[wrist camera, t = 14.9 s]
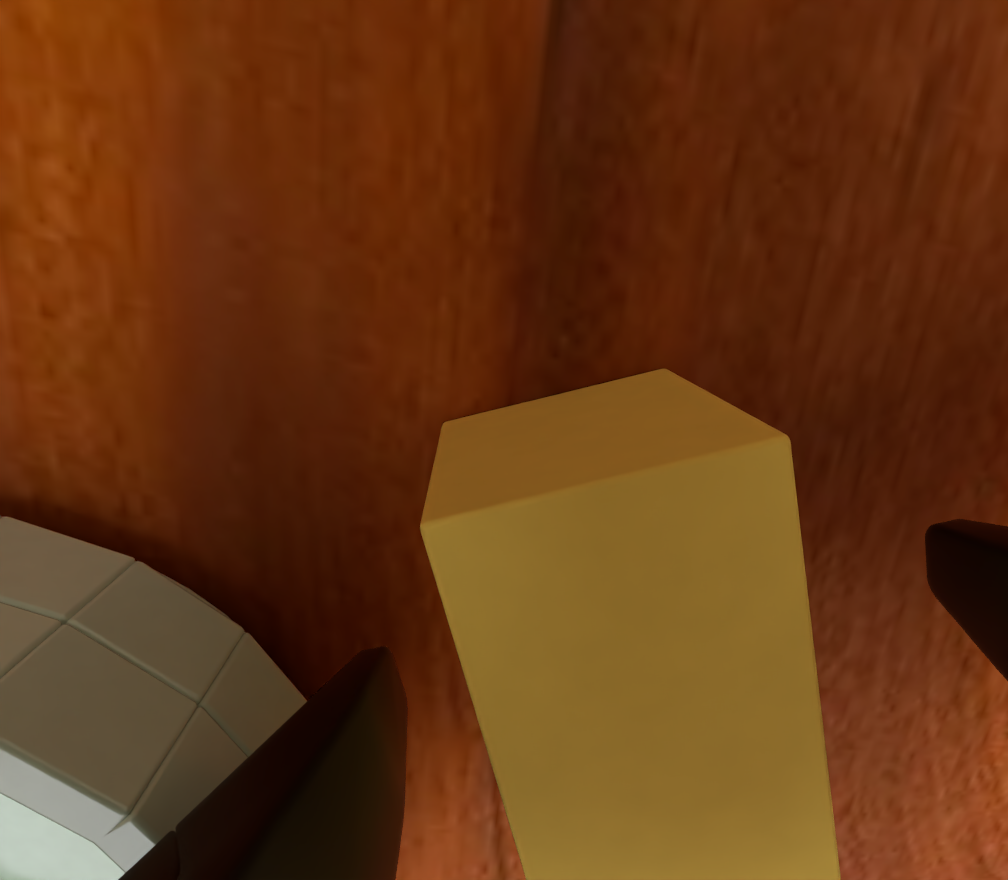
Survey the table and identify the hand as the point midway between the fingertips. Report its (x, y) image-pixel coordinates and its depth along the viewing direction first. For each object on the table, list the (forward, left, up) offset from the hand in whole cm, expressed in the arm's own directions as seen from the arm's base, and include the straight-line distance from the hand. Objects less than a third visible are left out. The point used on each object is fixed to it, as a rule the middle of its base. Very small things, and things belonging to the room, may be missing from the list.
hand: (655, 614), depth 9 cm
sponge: (0, +1, -2) cm, 2 cm away
